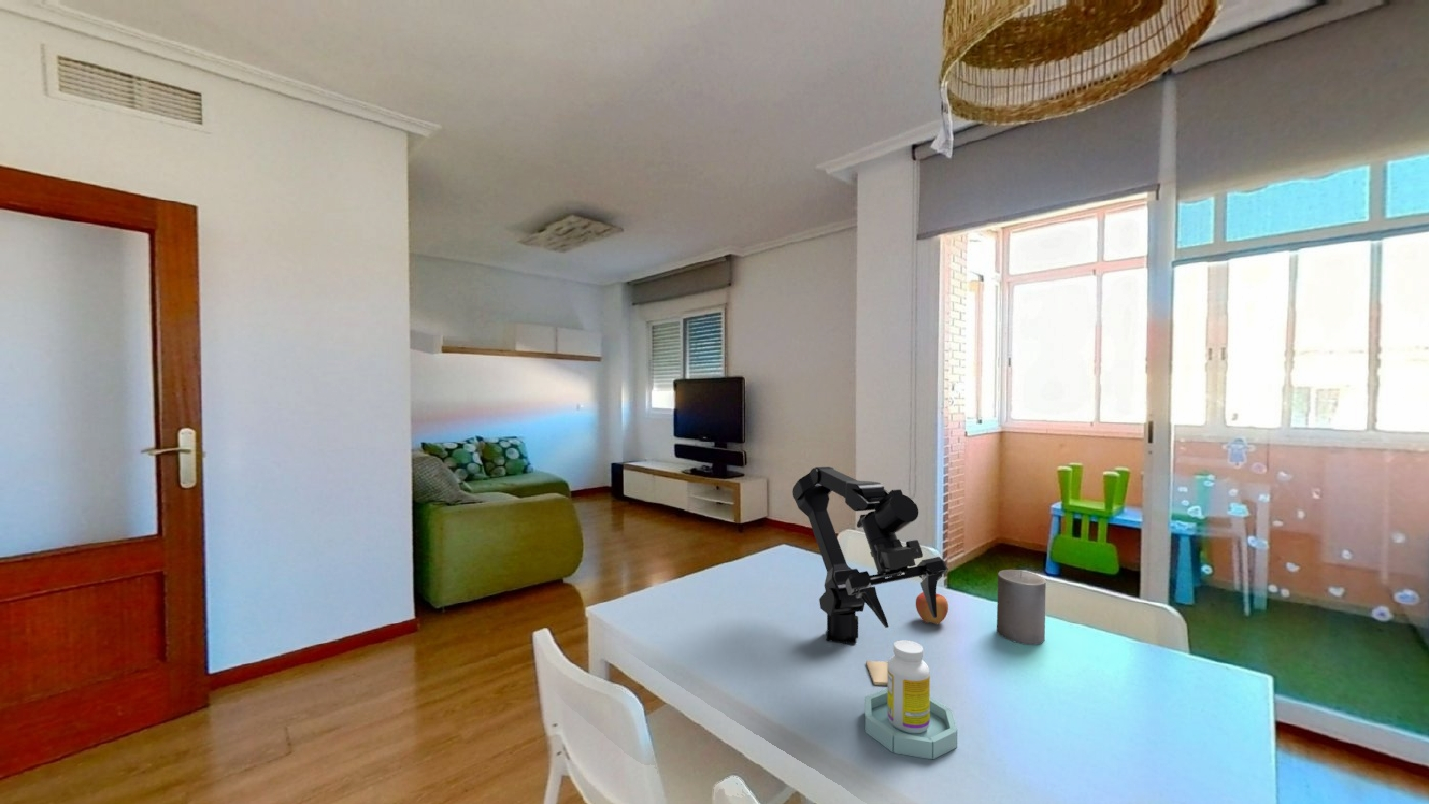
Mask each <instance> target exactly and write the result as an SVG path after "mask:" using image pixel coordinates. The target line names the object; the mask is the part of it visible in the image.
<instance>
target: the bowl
mask: <svg viewBox="0 0 1429 804" xmlns="http://www.w3.org/2000/svg"><path fill="white" fill-rule="evenodd" d="M864 725H865V726H864V732H865V733H866V734H868V735H869V736H870V737H871V738H873V740H875V741H877V742H878V743H879V744H881V745H882V746H883V747H885V748H886V749H887V750H889V751H890V752H892V753H894V754H897V755H904V756H912V757H914V758H915V757H916V758H922V759H928V760H932V759H933V760H935V759H937V758H939V757H941V756H942V755H945V754H946V753H948V752H951V751H952V750H955V749H956V748H958V729H957V728H958V727H957V725H956V720H955V717H954V714H953V711H952V710H951V708H949V707H948V706H947V705H944V703H943V704H942V703H941V702H940V701H938V700H936V699H934V698H933V697H931V696H930V724H929V728H928V729H927V730H926V731H924V732H922V733H916V734H914V733H907V732H904V731H901V730H899V729H897V728H896V727H894V726H893V725H892V724H891V723H890V721H889V719H888V713H887V688H884V689H882V690H879V691H876V692H874V693H872V694H869V695H866V696H865V697H864Z"/></svg>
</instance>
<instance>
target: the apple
mask: <svg viewBox="0 0 1429 804" xmlns="http://www.w3.org/2000/svg"><path fill="white" fill-rule="evenodd" d="M936 605H937V618H933V616H932V614H931V612H930V610H929V607H928V604H927V601H926V598H925V596H924V593H923V591H922V592H920V593H919V594H918V595H917V597H916V599H915V609H916V611H917V614H918V616H920V618H921V620H922V621H923V622H925V623H926V624H928V623H932V624H935V625H939V624H940V623H942V622H943V621H944V620H945V618H946V616H947V615H948V611H949V604H948V600H947V598H946V597H945V596H943V595H941V594H939V593H936Z"/></svg>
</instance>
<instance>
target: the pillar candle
mask: <svg viewBox="0 0 1429 804" xmlns="http://www.w3.org/2000/svg"><path fill="white" fill-rule="evenodd" d="M1046 583H1047V580H1046V579H1045V577H1043V576H1041V575H1039V574H1036V573H1032V572H1029V571H1026V570H1019V569H1003V570H999V572H998V573H997V603H996V604H997V607H996V610H997V611H996V614H997V615H996V632H997V633H998V635H1000V636H1001V637H1002V638H1004V639H1006V640H1009V641H1011V642H1013V643H1017V644H1018V643H1019V644H1023V645H1032V646H1033V645H1040V644H1042V643H1043V642H1044V641H1045V638H1046V590H1047V589H1046V588H1047V587H1046Z"/></svg>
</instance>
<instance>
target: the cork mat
mask: <svg viewBox="0 0 1429 804" xmlns="http://www.w3.org/2000/svg"><path fill="white" fill-rule="evenodd" d="M865 662H866V663H865V664H866V667H867V669H868V672H869V675H870V677H871V681H872V683H873V685H874V686H887V677H888V674H887V666H888V661H882V660H881V661H879V660H878V661H877V660H866V661H865Z"/></svg>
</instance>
